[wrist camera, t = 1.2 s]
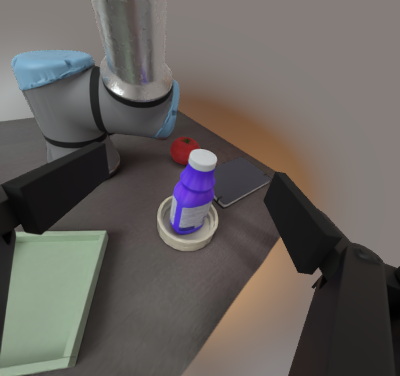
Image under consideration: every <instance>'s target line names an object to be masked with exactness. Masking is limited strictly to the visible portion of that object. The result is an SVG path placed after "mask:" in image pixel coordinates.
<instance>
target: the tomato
mask: <svg viewBox="0 0 400 376" xmlns="http://www.w3.org/2000/svg"><path fill="white" fill-rule="evenodd" d="M195 149H200V148H199V145H198V143H197V142H196V141H195V140H193V139H191V138H188V137H180V138H177V139H176V140H175V141H174V142H173V143H172V145H171V148H170V152H171V156H172V158H173V159H174V160H175V161H176V162H177V163H179V164H182V165H187V164H188V159H189V156H190V153H191V152H192V151H193V150H195Z"/></svg>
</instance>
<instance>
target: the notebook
mask: <svg viewBox="0 0 400 376" xmlns="http://www.w3.org/2000/svg"><path fill="white" fill-rule="evenodd" d="M214 178H215V185H214V186H213V189H214V198H213V199H214V200H215V201H216V202H217V203H218V204H219V205H220V206H221V207H222V208H226V207H228V206H230V205H231V204H233V203H235V202H237V201H238V200H240V199H242V198H244V197H245V196H247V195H249V194H251V193H252V192H254V191H256V190H258V189H260V188H261V187H263V186H265V185H267V184H268V183H269V181H270V180H271V178H270V177H269V176H268V175H267V174H265V173H264V172H263V171H261V170H260V169H258V168H257V167H256V166H254V165H253V164H252V163H250V162H249V161H248V160H246V159H245V158H244V157H240V158H237V159H234V160H231V161H229V162H226V163H223V164H220V165H217V166H215V170H214Z"/></svg>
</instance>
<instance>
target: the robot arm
mask: <svg viewBox="0 0 400 376" xmlns="http://www.w3.org/2000/svg"><path fill="white" fill-rule="evenodd" d="M91 4H92V7H93V11H94V15H95V18H96V21H97V26H98V29H99V33H100V36H101V40H102V44H103V48H104V51H105V55H106V57H104V59H103V60H102V62H101V65H100V67H97V66H95V65H94V64H95V61H94V60H93V58H92V57H91V55H89V54H87V53H83V52H78V51H67V50H47V51H46V50H44V51H32V52H26V53H21V54H19V55H16V56H15V57H14V58H13V60H12V68H13V71H14V74H15V76H16V79H17V81H18V84H19V89H20V90H22V92H23V94H24V96H25V98H26V100H27V102H28V105H29V107H30V109H31V111H32V112H33V115H34V117H35V119H36V121H37V123H38V125H39V127H40V129H41V131H42V133H43V135H44V137H45V139H46V142H47V164H45V165H43V166H41V167H39V168H37V169H34V170H32V171H29V172H27V173H26V174H23V175H21V176H19V177H16V178H14V179H12V180H10V181H8V182H5V183H3V184H1V185H0V353H1V346H2V338H3V331H4V323H5V316H6V308H7V301H8V293H9V286H10V278H11V271H12V264H13V256H14V249H15V241H16V232H15V230H14V228H16V227H17V226H18V225H20V224H21V225H22V227H23V229H24V231H25V233H30V234H36V235H42V234H43V233H44V232H46V231H47V230H48V229H49V228H50V227H51V226H52V225H54V224H55V223H56V222H57V221H58V220H59V219H61V218H62V217H63V216H64V215H65V214H66V213H67V212H69V211H70V210H71V209H72V208H73V207H74V206H76V205H77V204H78V203H79V202H80V201H81V200H82V199H84V198H85V197H86V196H87V195H88V194H89V193H91V192H92V191H93V190H94V189H95V188H96V187H97V186H99V185H100V184H101V183H102V182H103V181H104V180H106V179H108V178H110V177H112V176H113V175H114V174H116V172H117V171H118V170H119V168H120V165H121V161H120V156H119V153H118V152H117V150H116V148H115V147H114V145H113V143H112V142H111V140H110V138H109V137H108V135H109V134H112V133H117V134H125V135H133V136H142V137H150V138H166V137H168V136H170V134H171V133H172V131H173V128H174V125H175V121H176V113H177V110H178V104H179V85H178V83H177V82H176V81H174V80H173V76H172V72H171V70H170V68H169V66H168V65H167V64H166V63H165V38H166V37H165V36H166V11H167V0H91ZM264 203H265V205H266V207H267V209H268V211H269V213H270V215H271V217H272V219H273V221H274V223H275V226H276V228H277V230H278V232H279V234H280V236H281V238H282V240H283V242H284V244H285V246H286V248H287V251H288V253H289V255H290V257H291V259H292V261H293V263H294V265H295V267H296V269H297V271H298V273H304V274H311V275H312V274H313V273H314V272H315V271H316V269H317V268H318V267H319V269H320V270H321V272H322V275H321V276H320V278H319V279H318V280H317V281H316V282H315V283H314V285H313V286H312V288H315V287H316V289H315V292H314V295H313V299H312V302H311V305H310V308H309V311H308V314H307V317H306V321H305V324H304V327H303V330H302V333H301V336H300V340H299V343H298V346H297V349H296V352H295V356H294V359H293V362H292V365H291V368H290V371H289V375H288V376H400V266H399V267H398V268H395V267H393V266H390V265H387V264H385V263H383V261H382V259H381V258H380V257H379V256H378V255H377V254H375V253H374V252H373V251H371V250H370V249H368V248H366V247H364V246H362V245H360V244H356V243H351V242H350V241H349V239H348V238H347V237H346V236H345V235H344V234H343V233H342V232H341V231H340V230H339V229H338V228H337V227H336V226H335V224H334V223H333V222H332V221H331V220H330V219H329V218H328V217H327V216H326V215H325V214H324V213H323V212H322V211H320V210H319V209H317V208H316V207H315V206H314V205H313V204H312V203H311V202H310V201H309V199H308V198H307V197H306V196H305V195H304V194H303V193H302V192H301V190H300V189H299V188H298V187H297V186H296V185H295V184H294V182H293V181H292V180H291V179H290V178H289V177H288V176H287V175H286V173H281V172H275V174H274V177H273V179H272V181H271V184H270V186H269V189H268V191H267V193H266V196H265V198H264Z"/></svg>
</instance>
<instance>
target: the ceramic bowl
mask: <svg viewBox="0 0 400 376" xmlns="http://www.w3.org/2000/svg"><path fill="white" fill-rule="evenodd" d="M172 198H173V195H172V196H170V197H168V198H166V199H165V200H164V201H163V202H162V203H161V205H160V207H159V209H158V217H157V229H158V232H159V235H160V237H161V238H162V239H163V241H164V242H165V243H166V244H168V245H169V246H171V247H172V248H174V249H177V250H181V251H195V250H198V249H200V248H203V247H204V246H205V245H207V244H208V243H209V242H210V241H211V239H212V237H213V235H214V233H215V231H216V229H217V226H218V215H217V211H216V210H215V208H214V206H213V205H212V204H211V206H210V208H209V211H208V213H207V216H206V219H205V221H204V224H203V225H202V227H201V228H200V229H198V230H197V231H195V232H193V233H190V234H185V235H181V234H178V233H176V232H175V231H174V229H173V227H172V225H171V224H170V213H171V205H172Z"/></svg>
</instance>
